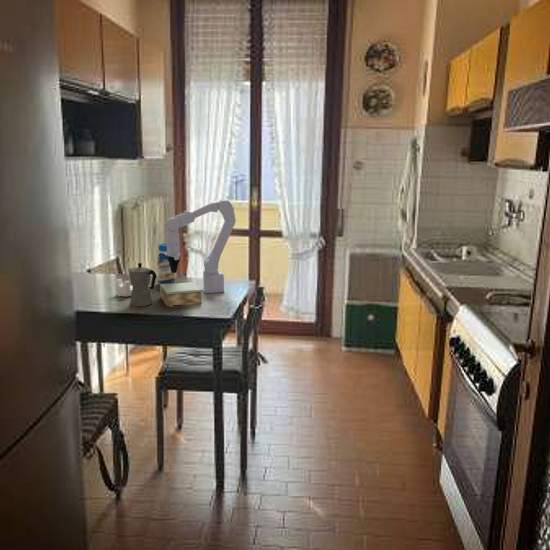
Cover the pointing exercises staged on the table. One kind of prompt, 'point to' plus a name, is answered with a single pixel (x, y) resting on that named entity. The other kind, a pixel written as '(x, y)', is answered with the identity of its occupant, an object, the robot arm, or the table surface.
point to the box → (181, 298)
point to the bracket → (123, 288)
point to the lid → (180, 288)
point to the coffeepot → (141, 285)
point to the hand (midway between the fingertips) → (173, 272)
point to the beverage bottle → (164, 267)
